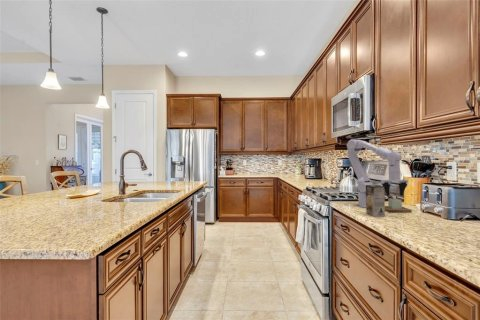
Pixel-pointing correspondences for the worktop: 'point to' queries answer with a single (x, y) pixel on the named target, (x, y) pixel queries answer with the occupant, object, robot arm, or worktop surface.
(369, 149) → the robot arm
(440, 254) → the worktop surface
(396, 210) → the walnut board
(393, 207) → the sage block
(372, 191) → the coffee box
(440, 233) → the worktop surface
